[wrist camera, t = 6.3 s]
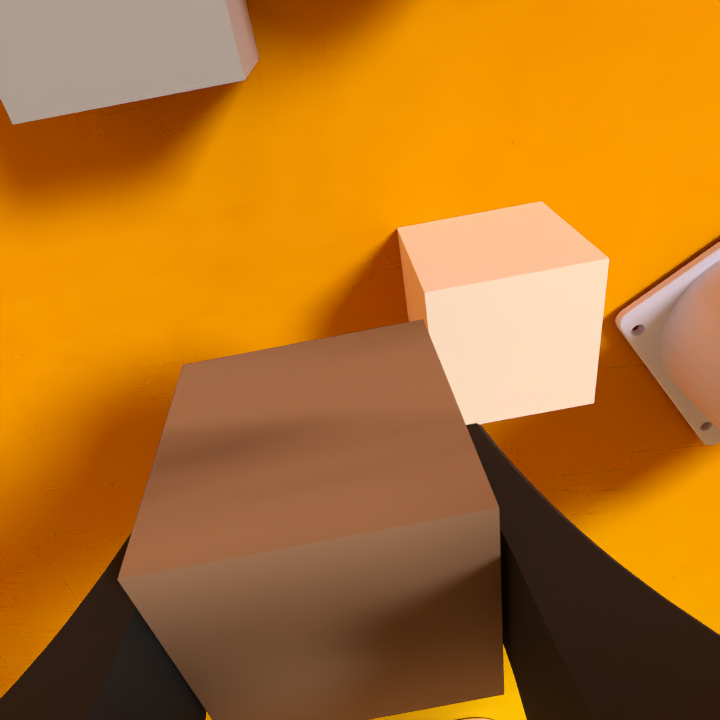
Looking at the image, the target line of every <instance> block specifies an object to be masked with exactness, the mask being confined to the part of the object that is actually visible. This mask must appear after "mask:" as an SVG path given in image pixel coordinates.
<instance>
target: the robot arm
mask: <svg viewBox="0 0 720 720" xmlns="http://www.w3.org/2000/svg"><path fill="white" fill-rule="evenodd" d="M615 324H616V326H617V328H618V329H619V330H620V332H621V333H622V334H623V336H624V337H625V338H626V340H627V341H628V342H629V344H630V345H631V346H632V348H633V349H634V351H635V352H636V353H637V355H638V356H639V357H640V359H641V360H642V361H643V363H644V364H645V365H646V367H647V368H648V370H649V371H650V372H651V374H652V375H653V376H654V378H655V379H656V380H657V382H658V383H659V384H660V386H661V387H662V388H663V390H664V391H665V393H666V394H667V395H668V397H669V398H670V399H671V401H672V402H673V403H674V405H675V406H676V407H677V409H678V410H679V412H680V413H681V414H682V416H683V417H684V418H685V420H686V421H687V422H688V424H689V425H690V426H691V428H692V429H693V430H694V432H695V433H696V435H697V436H698V437H699V439H700V440H701V441H702V442H703V443H704V444H705V445H715V444H717V443H719V442H720V241H719V242H718V243H717V244H715V245H714V246H712V247H711V248H709V249H708V250H707V251H705V252H704V253H702V254H701V255H699V256H698V257H697V258H695V259H694V260H692V261H691V262H690V263H688V264H687V265H685V266H684V267H682V268H681V269H680V270H678V271H677V272H675V273H674V274H673V275H671V276H670V277H668V278H667V279H665V280H664V281H663V282H661V283H660V284H658V285H657V286H655V287H654V288H653V289H651V290H650V291H648V292H647V293H646V294H644V295H643V296H641V297H640V298H638V299H637V300H636V301H634V302H633V303H631V304H630V305H629V306H627V307H626V308H624V309H623V310H622V311H621V312H619V313H618V315H617V317H616V319H615ZM637 325H639V327H638V328H637V329H636V330H634V331H632V329H633V328H634V327H635V326H637ZM466 427H467V429H468V432H469V434H470V436H471V439H472V441H473V444H474V446H475V449H476V451H477V454H478V456H479V459H480V461H481V464H482V466H483V469H484V471H485V474H486V476H487V479H488V481H489V484H490V486H491V489H492V491H493V494H494V496H495V498H496V501H497V503H498V506H499V518H500V556H501V594H502V633H503V645H504V647H505V650H506V653H507V656H508V659H509V661H510V664H511V667H512V670H513V673H514V676H515V680H516V683H517V687H518V690H519V694H520V697H521V701H522V704H523V708H524V711H525V715H526V718H527V720H720V635H719V634H717V633H716V632H714V631H713V630H712V629H710V628H709V627H707V626H706V625H704V624H703V623H701V622H700V621H698V620H697V619H695V618H694V617H692V616H691V615H689V614H688V613H686V612H685V611H683V610H682V609H680V608H679V607H677V606H676V605H674V604H673V603H672V602H670V601H669V600H667V599H666V598H664V597H663V596H661V595H660V594H659V593H657V592H656V591H655V590H653V589H652V588H651V587H649V586H648V585H647V584H645V583H644V582H643V581H641V580H640V579H639V578H637V577H636V576H635V575H633V574H632V573H631V572H630V571H628V570H627V569H626V568H624V567H623V566H622V565H621V564H619V563H618V562H617V561H616V560H614V559H613V558H612V557H611V556H609V555H608V554H607V553H606V552H605V551H603V550H602V549H601V548H600V547H599V546H597V545H596V544H595V543H594V542H593V541H592V540H590V539H589V538H588V537H587V536H586V535H585V534H584V533H582V532H581V531H580V530H579V529H578V528H577V527H576V526H575V525H574V524H572V523H571V522H570V521H569V520H568V519H567V518H566V517H565V516H564V515H563V514H562V513H561V512H559V511H558V510H557V509H556V508H555V507H554V506H553V505H552V504H551V503H550V502H549V501H548V500H547V499H546V498H545V497H544V496H543V495H542V494H541V493H540V492H539V491H538V490H537V489H536V488H535V487H534V486H533V485H532V484H531V483H530V482H529V481H528V480H527V479H526V478H525V476H524V475H523V474H522V473H521V472H520V471H519V470H518V469H517V468H516V467H515V466H514V464H513V463H512V462H511V461H510V460H509V459H508V458H507V457H506V455H505V454H504V453H503V452H502V451H501V450H500V448H499V447H498V446H497V445H496V444H495V442H494V441H493V440H492V439H491V437H490V436H489V435H488V434H487V432H486V431H485V430H484V428H483V427H482V426H481V425H479V424H477V423H473V424H468V425H466ZM131 534H132V533H131ZM131 534H130V535H129V537H128V538H127V540H126V541H125V543H124V544H123V546H122V547H121V549H120V550H119V551H118V553H117V554H116V556H115V557H114V559H113V560H112V562H111V563H110V564H109V566H108V567H107V569H106V570H105V572H104V573H103V574H102V576H101V577H100V579H99V580H98V581H97V583H96V584H95V585H94V587H93V588H92V589H91V591H90V592H89V593H88V595H87V596H86V597H85V599H84V600H83V601H82V603H81V604H80V605H79V607H78V608H77V609H76V611H75V612H74V613H73V614H72V616H71V617H70V618H69V620H68V621H67V622H66V624H65V625H64V626H63V627H62V629H61V630H60V631H59V632H58V634H57V635H56V636H55V637H54V639H53V640H52V641H51V642H50V643H49V645H48V646H47V647H46V648H45V649H44V651H43V652H42V653H41V654H40V655H39V656H38V658H37V659H36V660H35V661H34V662H33V663H32V664H31V666H30V667H29V668H28V669H27V670H26V671H25V672H24V674H23V675H22V676H21V677H20V678H19V679H18V680H17V682H16V683H15V684H14V685H13V686H12V687H11V688H10V689H9V690H8V691H7V692H6V694H5V695H4V696H3V697H2V698H1V699H0V720H205V718H206V709H205V708H204V707H203V705H202V704H201V702H200V701H199V699H198V698H197V696H196V695H195V693H194V692H193V690H192V689H191V687H190V686H189V684H188V683H187V681H186V680H185V679H184V677H183V676H182V674H181V673H180V671H179V670H178V668H177V667H176V665H175V664H174V662H173V661H172V659H171V658H170V656H169V655H168V653H167V652H166V651H165V649H164V648H163V646H162V645H161V643H160V642H159V640H158V639H157V637H156V636H155V634H154V633H153V631H152V630H151V628H150V627H149V625H148V624H147V623H146V621H145V620H144V618H143V617H142V615H141V614H140V612H139V611H138V609H137V608H136V606H135V605H134V603H133V602H132V600H131V599H130V597H129V596H128V595H127V593H126V592H125V590H124V589H123V587H122V586H121V584H120V583H119V581H118V580H117V579H118V576H119V573H120V570H121V566H122V563H123V560H124V556H125V553H126V550H127V547H128V543H129V540H130V537H131Z"/></svg>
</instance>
